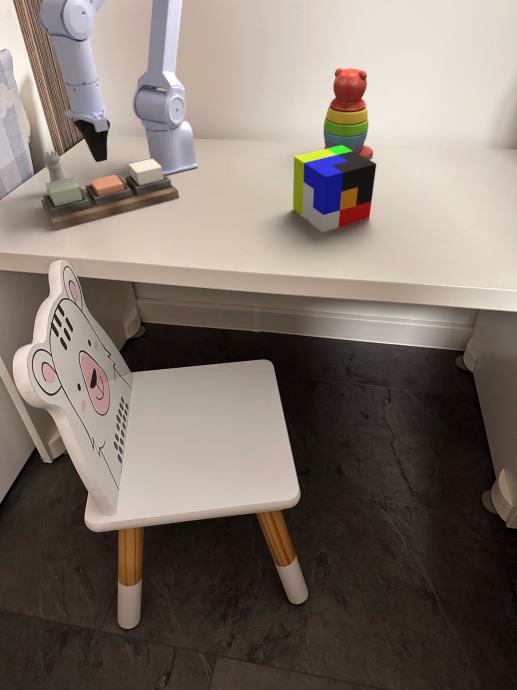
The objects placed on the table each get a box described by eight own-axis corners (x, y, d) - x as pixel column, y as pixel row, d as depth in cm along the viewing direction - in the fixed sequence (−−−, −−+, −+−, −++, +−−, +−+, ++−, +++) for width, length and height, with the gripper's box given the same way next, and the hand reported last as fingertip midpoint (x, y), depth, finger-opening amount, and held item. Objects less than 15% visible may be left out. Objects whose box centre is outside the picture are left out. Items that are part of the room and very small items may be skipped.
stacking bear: (375, 154, 112) (386, 65, 100) (357, 170, 105) (366, 77, 93) (332, 146, 116) (337, 60, 104) (311, 161, 110) (315, 71, 98)
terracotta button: (118, 186, 99) (115, 174, 97) (126, 196, 96) (123, 183, 94) (93, 192, 97) (90, 180, 95) (100, 202, 94) (97, 189, 92)
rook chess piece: (66, 198, 99) (54, 158, 94) (46, 196, 100) (33, 157, 95) (77, 188, 103) (66, 149, 97) (57, 187, 103) (45, 148, 98)
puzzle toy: (322, 232, 86) (325, 176, 80) (293, 209, 93) (294, 156, 86) (369, 218, 89) (376, 163, 83) (337, 197, 96) (341, 145, 90)
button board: (158, 178, 105) (156, 164, 103) (179, 197, 98) (176, 183, 96) (43, 206, 97) (38, 192, 95) (55, 230, 90) (50, 215, 88)
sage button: (76, 189, 95) (72, 177, 93) (82, 199, 92) (79, 186, 90) (49, 196, 93) (45, 183, 92) (55, 206, 90) (51, 193, 88)
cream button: (154, 170, 101) (152, 158, 99) (163, 179, 97) (161, 167, 96) (131, 176, 99) (128, 164, 97) (139, 185, 96) (137, 172, 94)
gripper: (47, 75, 88) (69, 152, 97) (68, 95, 79) (90, 178, 88) (87, 69, 91) (105, 144, 100) (111, 87, 81) (129, 169, 90)
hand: (100, 160), depth 94 cm, fingers closed
